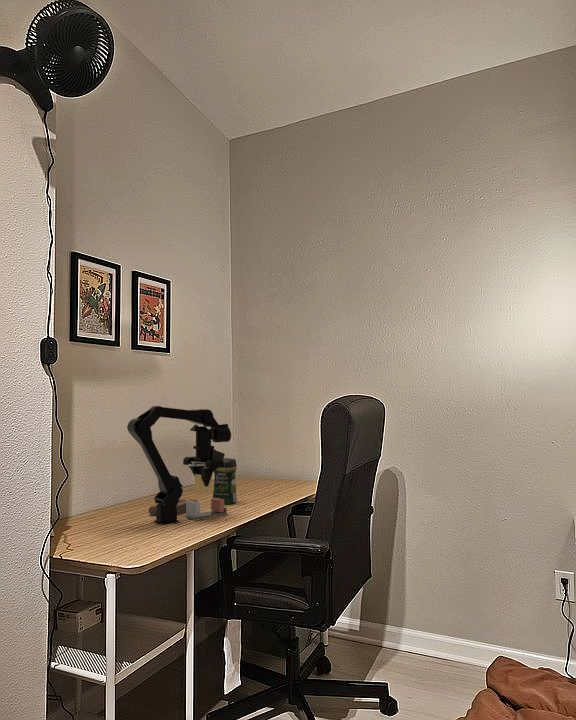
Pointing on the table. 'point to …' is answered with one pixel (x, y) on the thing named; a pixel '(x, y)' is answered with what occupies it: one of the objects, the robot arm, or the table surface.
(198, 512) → the vise
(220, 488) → the coffee jar
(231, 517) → the table surface
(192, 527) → the table surface
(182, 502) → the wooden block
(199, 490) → the block
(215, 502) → the block
